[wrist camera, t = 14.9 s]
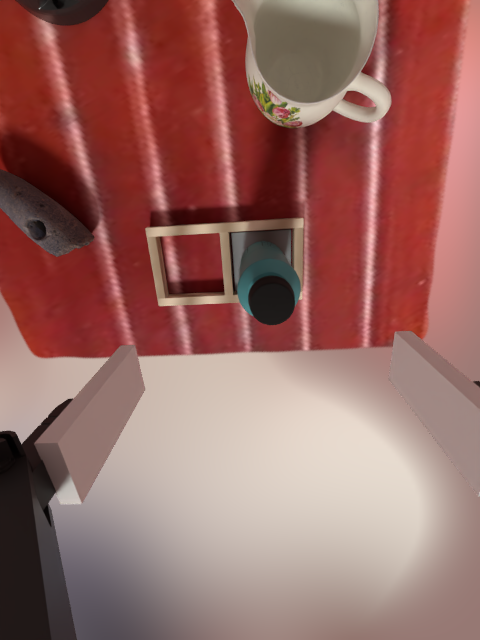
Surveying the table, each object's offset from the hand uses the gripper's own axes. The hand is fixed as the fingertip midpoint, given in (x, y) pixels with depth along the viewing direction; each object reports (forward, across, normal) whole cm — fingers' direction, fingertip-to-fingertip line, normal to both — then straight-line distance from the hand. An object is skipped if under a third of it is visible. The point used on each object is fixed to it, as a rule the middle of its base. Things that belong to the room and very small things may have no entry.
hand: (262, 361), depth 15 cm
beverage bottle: (+30, +1, -1) cm, 30 cm away
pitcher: (+31, +6, +20) cm, 37 cm away
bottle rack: (+31, -4, -1) cm, 31 cm away
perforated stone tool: (+31, -28, +8) cm, 43 cm away
